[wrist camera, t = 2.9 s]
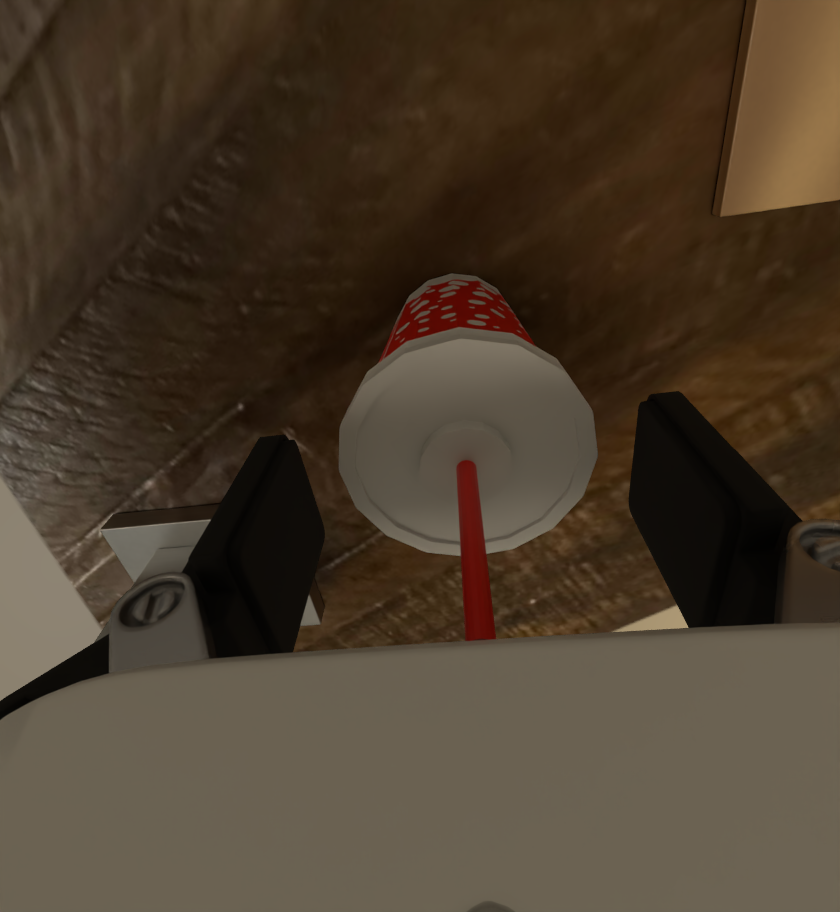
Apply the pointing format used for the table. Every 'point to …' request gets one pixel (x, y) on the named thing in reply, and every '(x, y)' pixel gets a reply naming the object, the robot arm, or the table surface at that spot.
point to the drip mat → (783, 109)
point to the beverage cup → (466, 435)
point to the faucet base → (171, 547)
